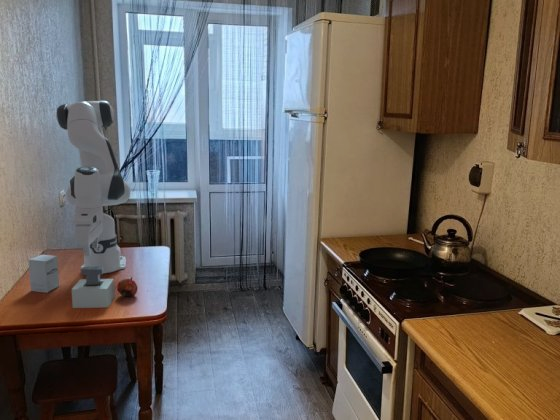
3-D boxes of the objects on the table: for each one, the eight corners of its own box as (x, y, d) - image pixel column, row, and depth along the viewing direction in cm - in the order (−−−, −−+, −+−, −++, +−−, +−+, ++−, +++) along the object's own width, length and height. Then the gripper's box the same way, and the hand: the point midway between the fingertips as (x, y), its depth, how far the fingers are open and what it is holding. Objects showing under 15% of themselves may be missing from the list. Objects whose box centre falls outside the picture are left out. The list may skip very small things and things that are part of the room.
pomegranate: (133, 306, 173) (146, 283, 179) (122, 295, 168) (136, 272, 174) (118, 304, 176) (131, 282, 182) (107, 293, 171) (120, 271, 177)
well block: (81, 297, 174) (80, 279, 173) (114, 296, 176) (113, 278, 174) (72, 308, 165) (71, 289, 163) (108, 307, 166) (107, 288, 164)
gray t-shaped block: (85, 297, 171) (83, 266, 168) (105, 297, 172) (103, 266, 169) (83, 301, 168) (81, 269, 166) (103, 300, 169) (101, 269, 166)
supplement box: (47, 293, 177) (44, 261, 174) (30, 291, 178) (27, 259, 176) (60, 286, 184) (57, 255, 181) (43, 284, 185) (41, 253, 183)
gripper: (88, 207, 173) (90, 242, 176) (70, 221, 153) (73, 261, 156) (106, 207, 174) (107, 243, 177) (90, 221, 154) (92, 261, 157)
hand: (91, 251), depth 166 cm, fingers open, 8 cm apart
